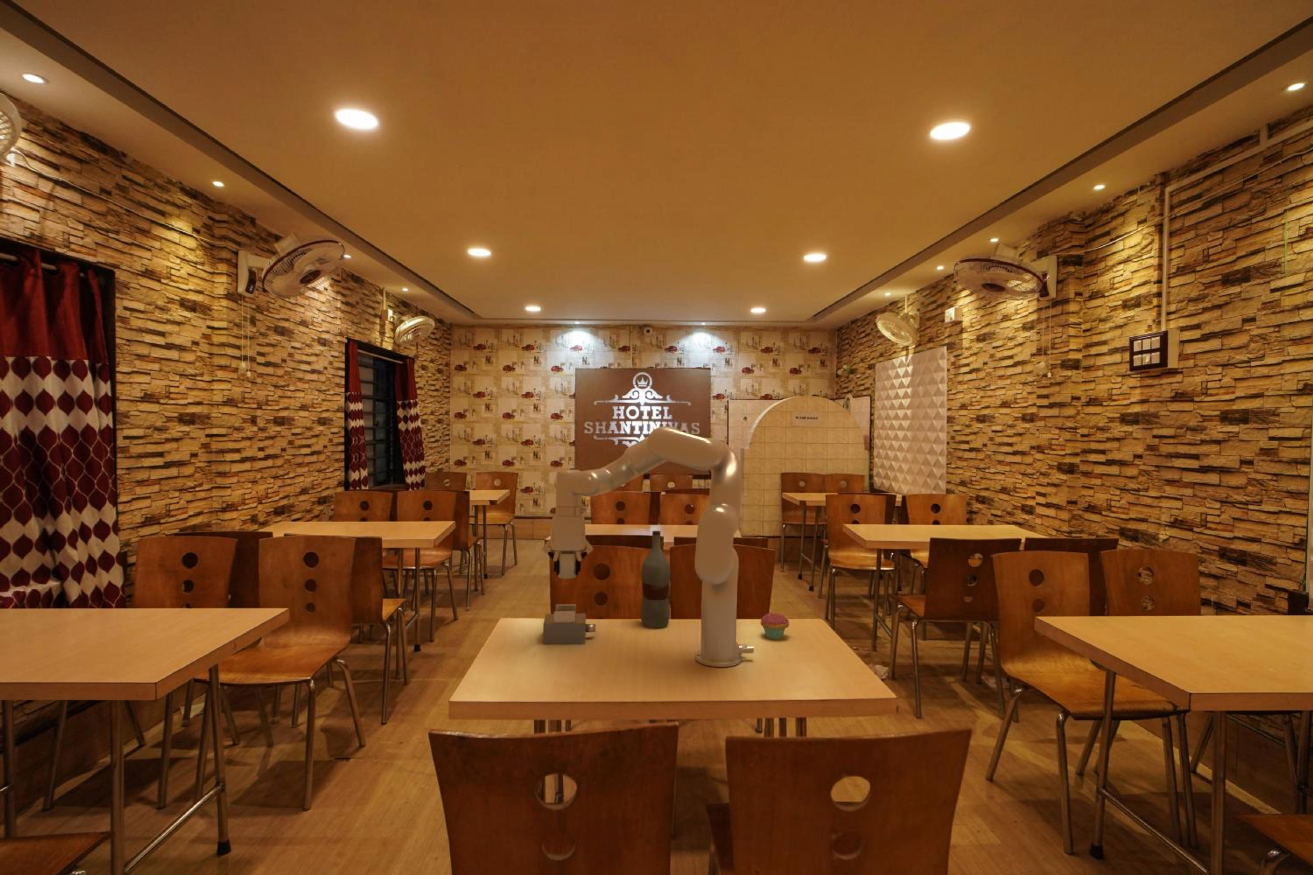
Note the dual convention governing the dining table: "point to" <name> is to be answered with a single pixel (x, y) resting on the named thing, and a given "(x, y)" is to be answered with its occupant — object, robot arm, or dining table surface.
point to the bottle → (655, 587)
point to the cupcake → (774, 624)
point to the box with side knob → (566, 626)
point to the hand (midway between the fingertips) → (567, 573)
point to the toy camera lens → (567, 564)
